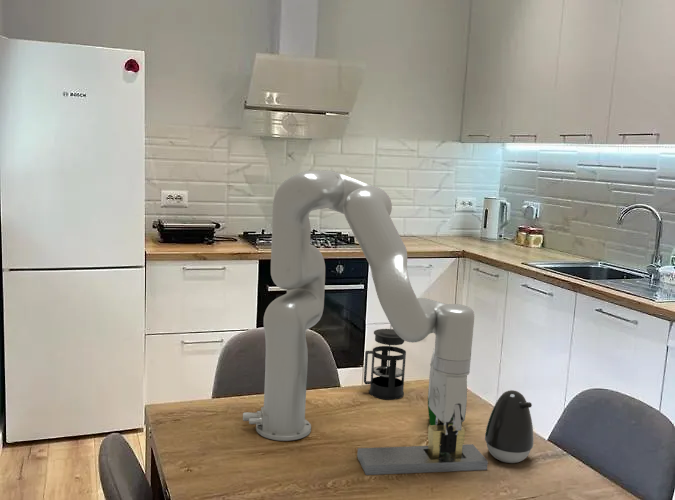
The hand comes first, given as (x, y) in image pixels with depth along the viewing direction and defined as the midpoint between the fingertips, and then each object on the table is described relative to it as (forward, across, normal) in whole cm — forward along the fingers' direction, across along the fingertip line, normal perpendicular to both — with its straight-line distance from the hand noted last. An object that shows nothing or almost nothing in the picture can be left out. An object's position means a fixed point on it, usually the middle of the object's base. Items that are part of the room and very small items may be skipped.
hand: (444, 447), depth 143 cm
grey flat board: (+4, 0, -5) cm, 6 cm away
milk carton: (+4, -19, +7) cm, 21 cm away
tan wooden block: (+3, 0, 0) cm, 3 cm away
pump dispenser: (+4, -1, +15) cm, 16 cm away
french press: (+4, -41, -2) cm, 41 cm away
